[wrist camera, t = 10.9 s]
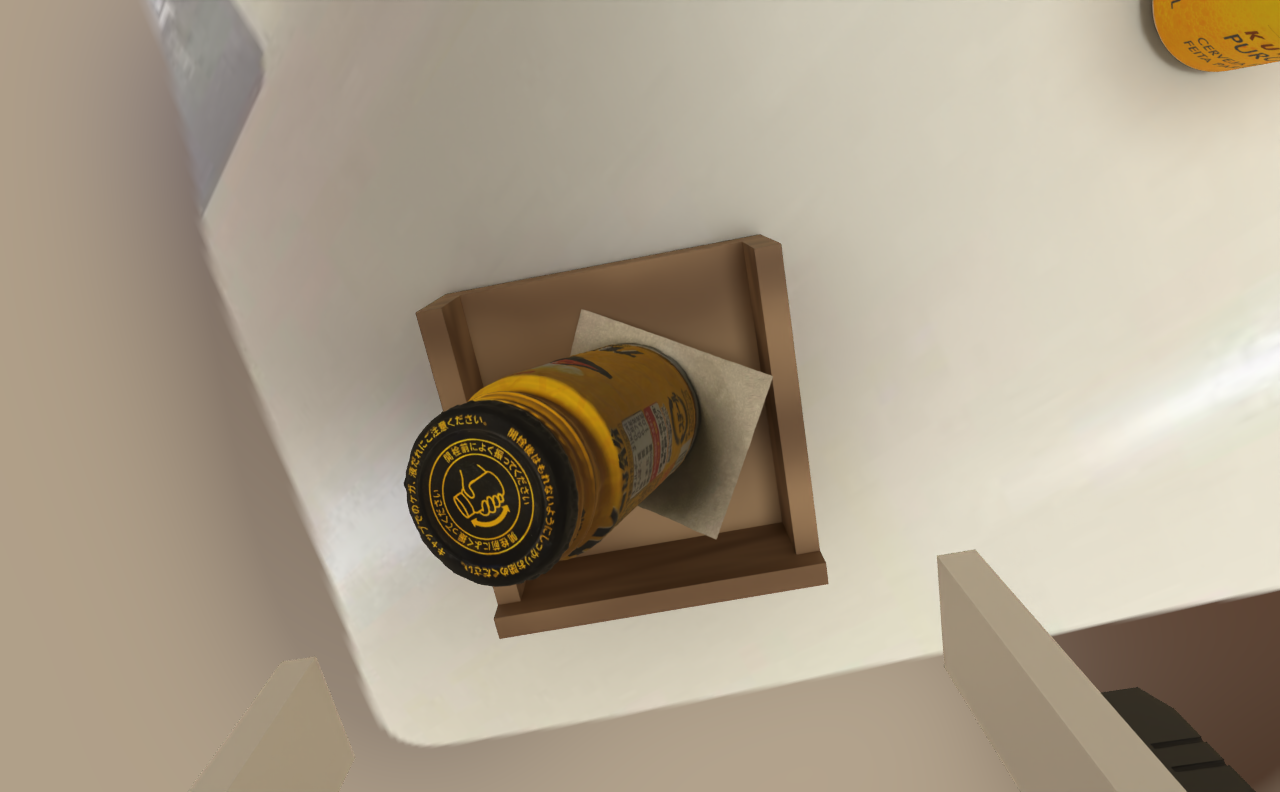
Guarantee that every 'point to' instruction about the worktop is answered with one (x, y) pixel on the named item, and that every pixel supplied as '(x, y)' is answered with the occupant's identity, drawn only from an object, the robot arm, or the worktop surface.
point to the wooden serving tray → (643, 541)
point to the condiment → (582, 452)
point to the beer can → (1219, 32)
